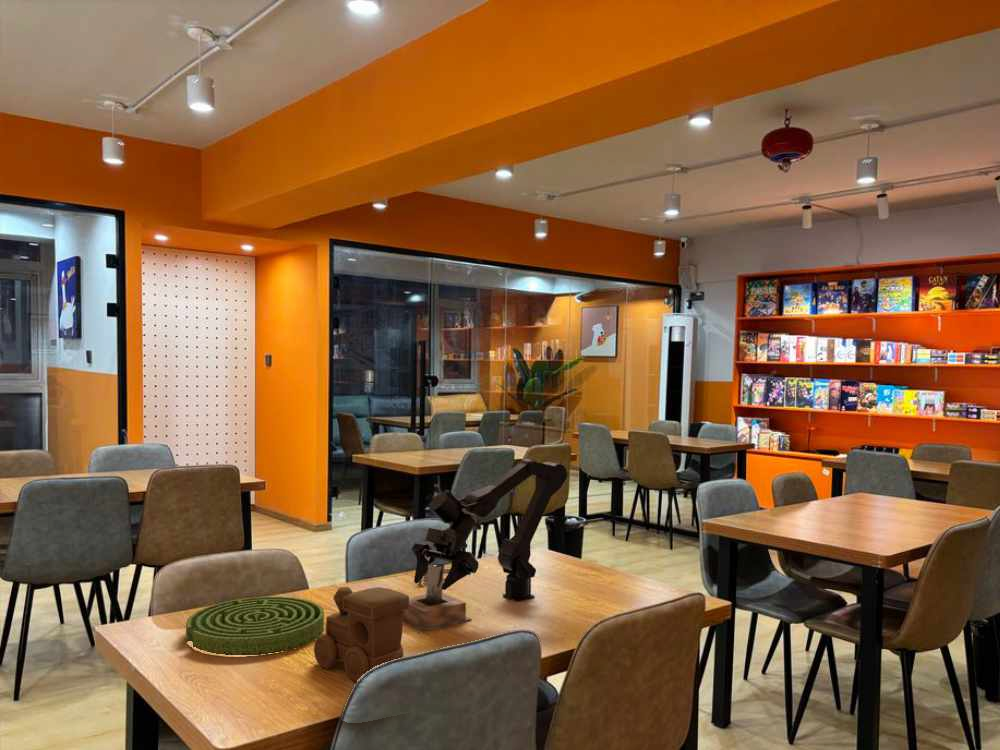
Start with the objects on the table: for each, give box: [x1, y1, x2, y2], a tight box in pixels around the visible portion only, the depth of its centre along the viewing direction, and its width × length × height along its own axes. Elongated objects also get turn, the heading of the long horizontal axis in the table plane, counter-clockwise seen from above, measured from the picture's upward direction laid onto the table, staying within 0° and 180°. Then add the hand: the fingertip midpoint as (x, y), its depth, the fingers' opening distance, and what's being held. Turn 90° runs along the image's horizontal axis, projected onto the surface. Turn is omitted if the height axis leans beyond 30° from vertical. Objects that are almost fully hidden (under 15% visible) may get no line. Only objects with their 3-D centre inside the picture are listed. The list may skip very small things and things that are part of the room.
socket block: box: [403, 592, 472, 633], centre depth 196 cm, size 14×14×4 cm
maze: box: [185, 596, 325, 655], centre depth 184 cm, size 31×31×5 cm
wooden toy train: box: [313, 586, 410, 682], centre depth 163 cm, size 20×11×17 cm, turn 49°
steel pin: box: [425, 562, 445, 606], centre depth 196 cm, size 4×4×13 cm
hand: (428, 585), depth 195 cm, fingers open, 9 cm apart
